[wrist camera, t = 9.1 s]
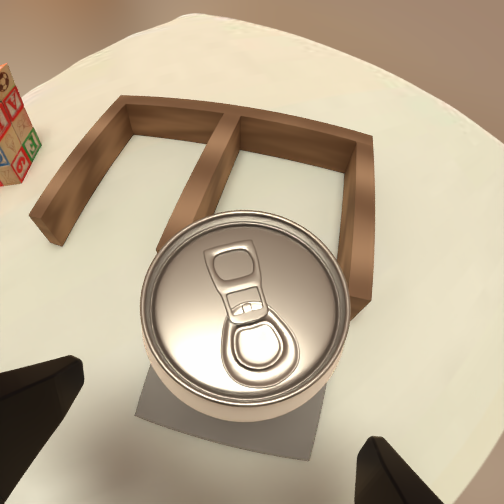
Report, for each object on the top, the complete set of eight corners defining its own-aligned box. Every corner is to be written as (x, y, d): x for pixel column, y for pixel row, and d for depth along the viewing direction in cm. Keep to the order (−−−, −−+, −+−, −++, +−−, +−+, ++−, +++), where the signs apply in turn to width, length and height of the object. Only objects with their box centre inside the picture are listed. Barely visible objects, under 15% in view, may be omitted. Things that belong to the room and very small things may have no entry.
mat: (307, 460, 16) (309, 460, 16) (136, 415, 17) (134, 415, 16) (335, 321, 21) (337, 319, 20) (180, 284, 21) (179, 281, 21)
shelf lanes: (349, 321, 21) (371, 300, 17) (50, 242, 23) (28, 215, 19) (359, 166, 28) (372, 135, 25) (128, 124, 30) (120, 95, 27)
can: (203, 429, 16) (152, 450, 6) (177, 332, 19) (114, 225, 9) (306, 399, 18) (400, 371, 7) (274, 307, 21) (312, 182, 10)
